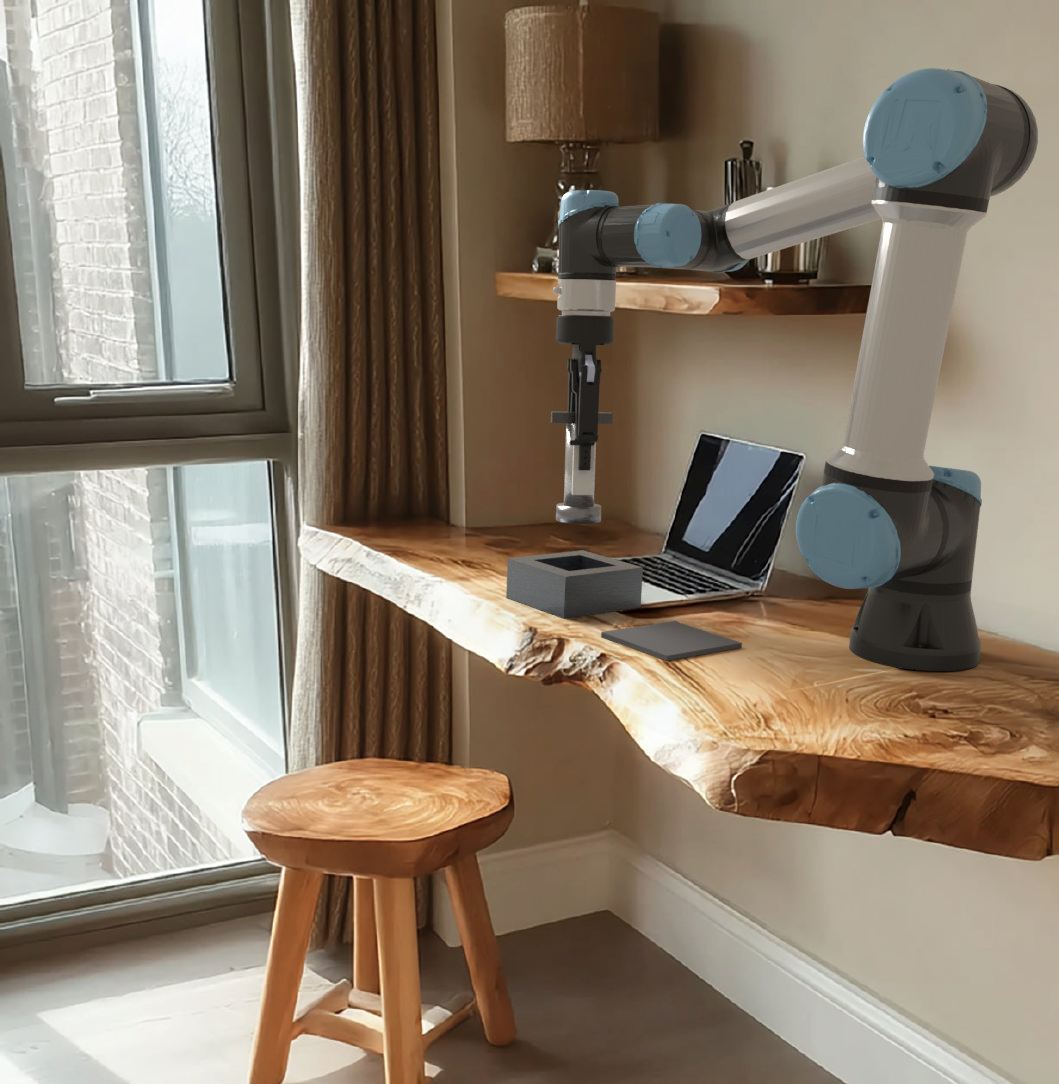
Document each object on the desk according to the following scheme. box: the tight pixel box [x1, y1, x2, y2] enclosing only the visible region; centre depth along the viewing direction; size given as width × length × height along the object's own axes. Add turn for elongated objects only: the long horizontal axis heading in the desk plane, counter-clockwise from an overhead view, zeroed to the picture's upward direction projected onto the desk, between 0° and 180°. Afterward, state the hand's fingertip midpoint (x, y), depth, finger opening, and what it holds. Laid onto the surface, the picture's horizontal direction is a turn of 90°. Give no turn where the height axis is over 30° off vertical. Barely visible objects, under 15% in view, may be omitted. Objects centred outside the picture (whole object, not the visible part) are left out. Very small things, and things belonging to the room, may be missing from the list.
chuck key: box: [550, 411, 614, 525], centre depth 172 cm, size 8×6×14 cm
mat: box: [600, 620, 743, 662], centre depth 157 cm, size 12×12×1 cm
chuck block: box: [505, 549, 644, 619], centre depth 175 cm, size 13×13×6 cm
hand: (579, 491), depth 172 cm, fingers closed on chuck key, 4 cm apart
